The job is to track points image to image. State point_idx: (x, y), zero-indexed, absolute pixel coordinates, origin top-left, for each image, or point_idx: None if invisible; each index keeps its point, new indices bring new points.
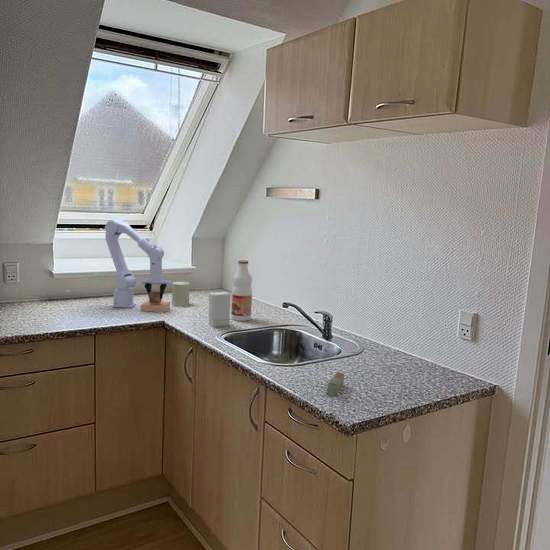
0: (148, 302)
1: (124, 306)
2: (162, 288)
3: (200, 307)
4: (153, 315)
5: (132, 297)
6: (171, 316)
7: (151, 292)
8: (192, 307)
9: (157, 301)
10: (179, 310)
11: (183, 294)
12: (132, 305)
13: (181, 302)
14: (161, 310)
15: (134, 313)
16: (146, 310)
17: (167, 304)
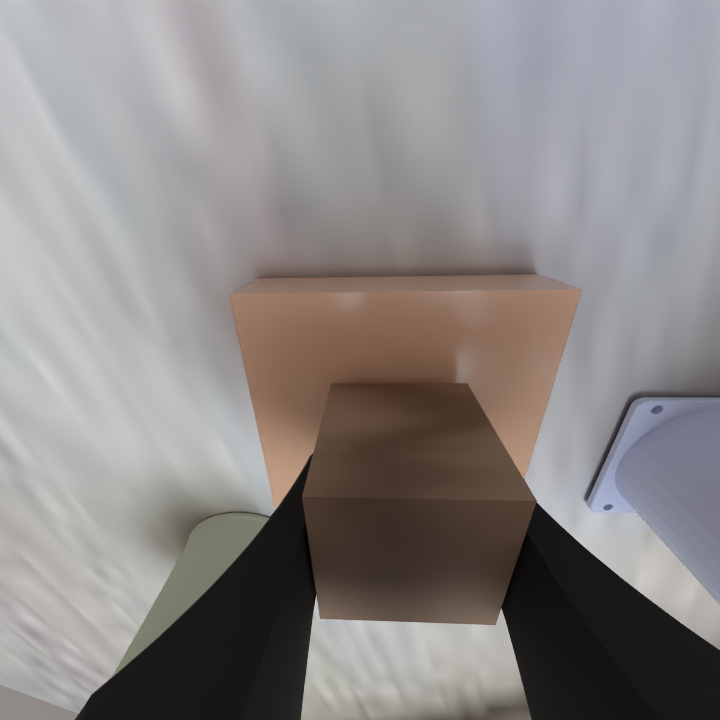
0: None
1: (716, 407)
2: (180, 656)
3: (77, 503)
4: (332, 37)
5: (707, 526)
6: (72, 34)
7: (490, 546)
8: (128, 495)
9: (354, 396)
10: (164, 387)
11: (150, 632)
12: (626, 453)
13: (207, 543)
14: (290, 280)
15: (615, 118)
16: (468, 277)
17: (260, 425)
